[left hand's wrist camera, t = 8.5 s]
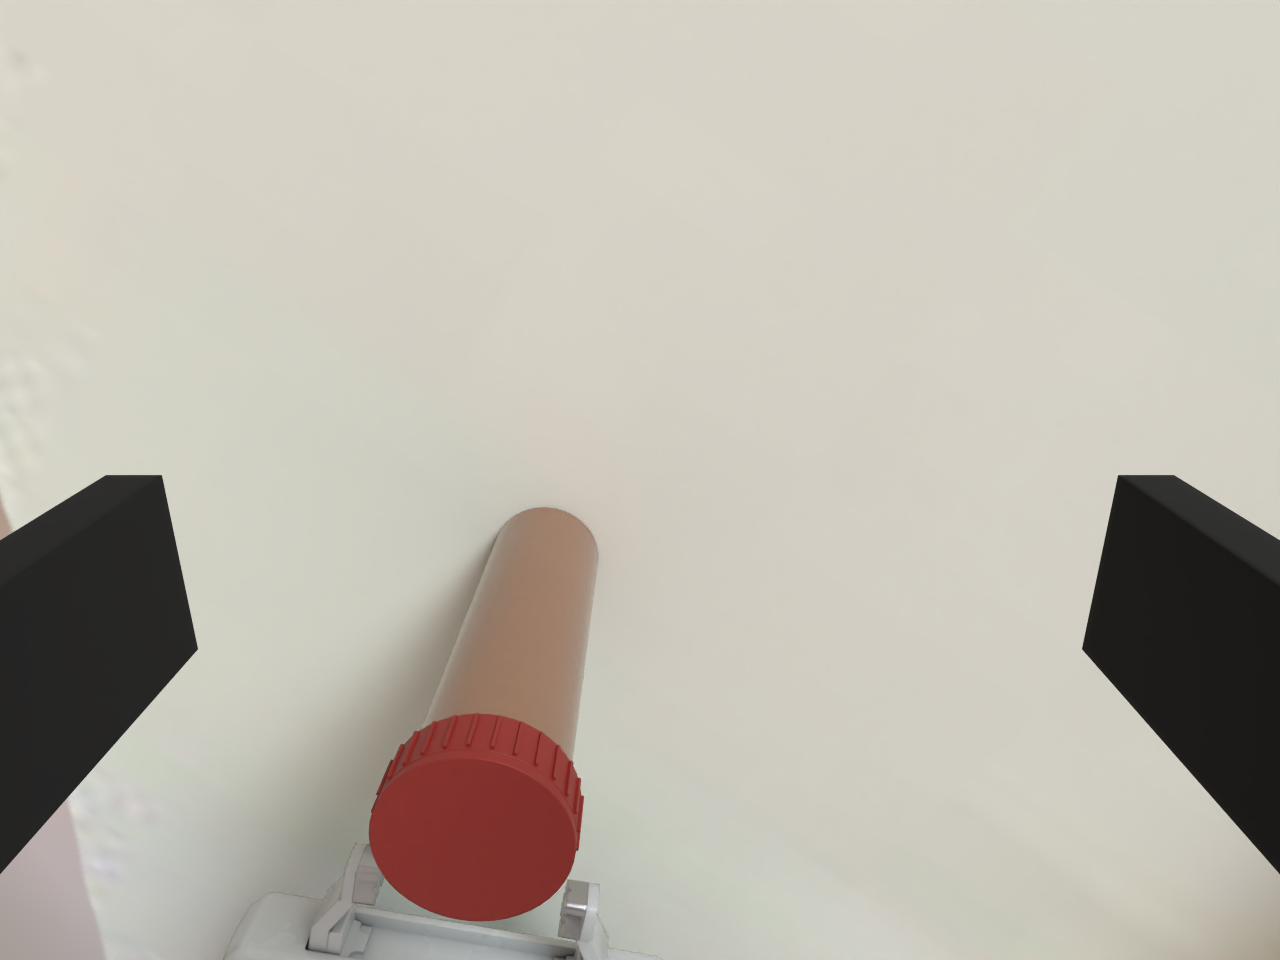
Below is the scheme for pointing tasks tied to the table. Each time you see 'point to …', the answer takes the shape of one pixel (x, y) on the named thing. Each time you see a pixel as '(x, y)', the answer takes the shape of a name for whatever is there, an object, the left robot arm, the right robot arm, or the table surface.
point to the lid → (477, 818)
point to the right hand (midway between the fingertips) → (476, 874)
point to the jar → (526, 629)
